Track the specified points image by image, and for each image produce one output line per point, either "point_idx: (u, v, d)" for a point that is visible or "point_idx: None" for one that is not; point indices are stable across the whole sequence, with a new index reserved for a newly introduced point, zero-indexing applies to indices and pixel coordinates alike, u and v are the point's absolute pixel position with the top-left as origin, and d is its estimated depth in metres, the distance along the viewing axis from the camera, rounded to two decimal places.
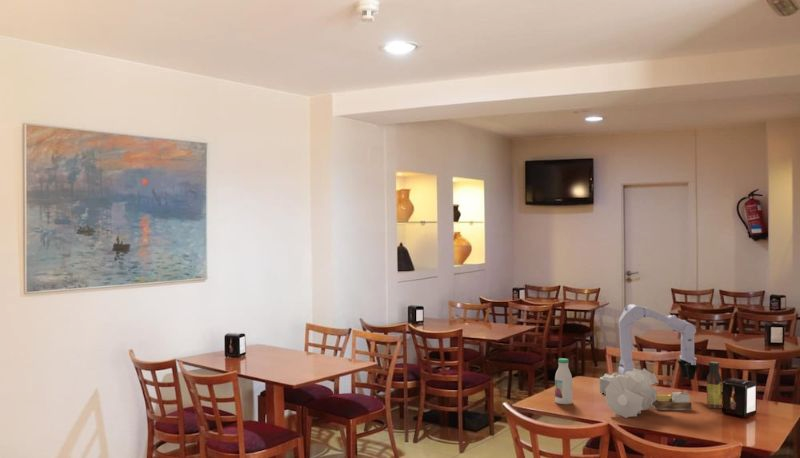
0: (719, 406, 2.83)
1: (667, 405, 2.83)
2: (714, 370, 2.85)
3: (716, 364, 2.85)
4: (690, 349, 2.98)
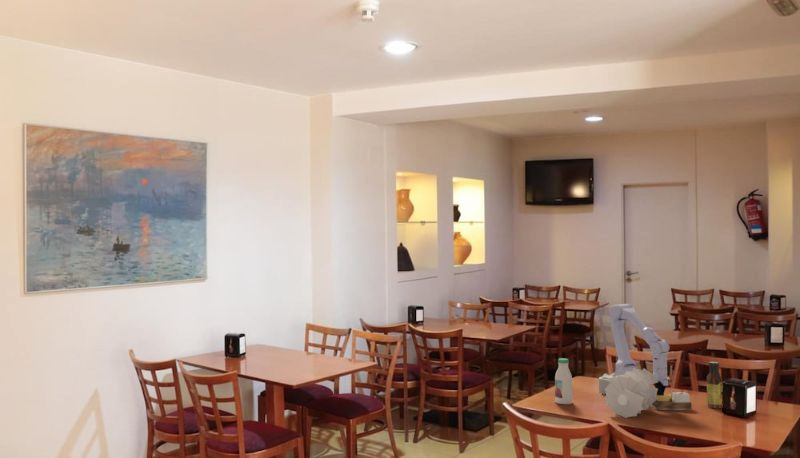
0: (719, 406, 2.83)
1: (667, 405, 2.83)
2: (714, 370, 2.85)
3: (716, 364, 2.85)
4: (662, 369, 2.84)
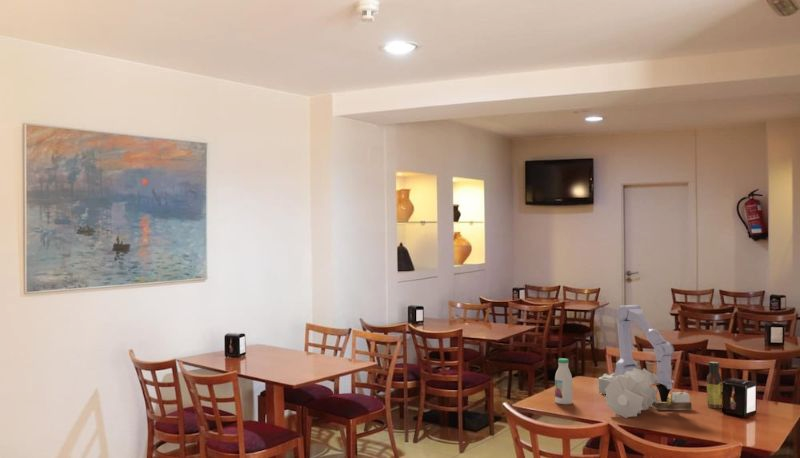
0: (719, 406, 2.83)
1: (667, 405, 2.83)
2: (714, 370, 2.85)
3: (716, 364, 2.85)
4: (666, 372, 2.79)
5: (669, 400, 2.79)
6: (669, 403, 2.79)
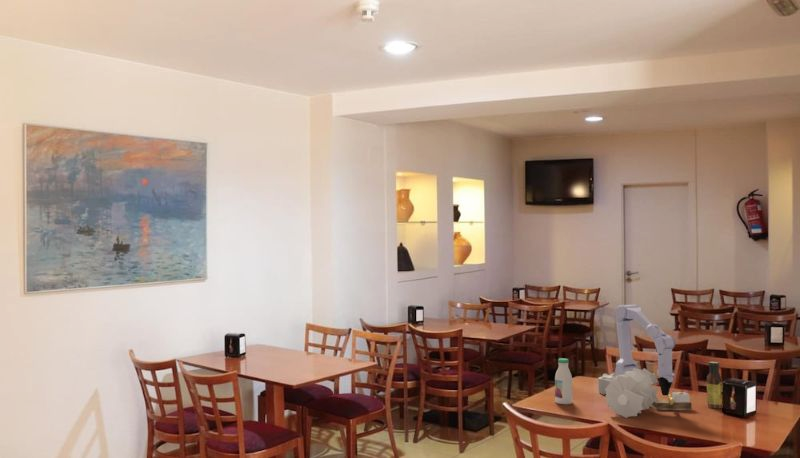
0: (719, 406, 2.83)
1: (667, 405, 2.83)
2: (714, 370, 2.85)
3: (716, 364, 2.85)
4: (667, 365, 2.78)
5: (672, 400, 2.78)
6: (672, 403, 2.78)
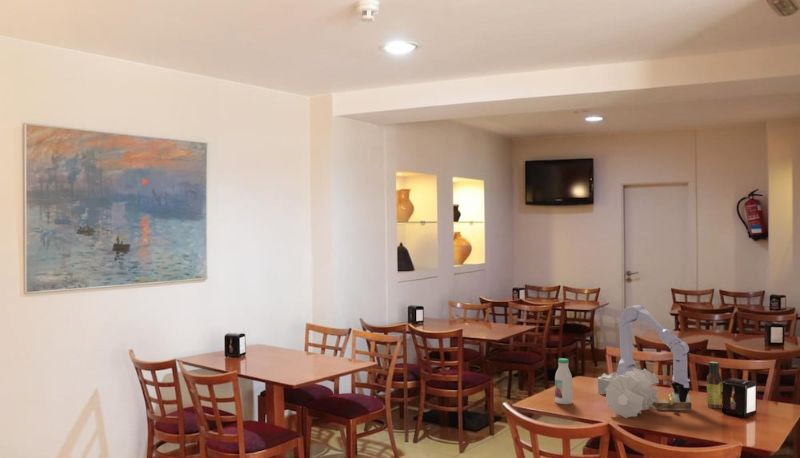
0: (719, 406, 2.83)
1: (667, 405, 2.83)
2: (714, 370, 2.85)
3: (716, 364, 2.85)
4: (683, 371, 2.83)
5: (672, 400, 2.78)
6: (672, 403, 2.78)
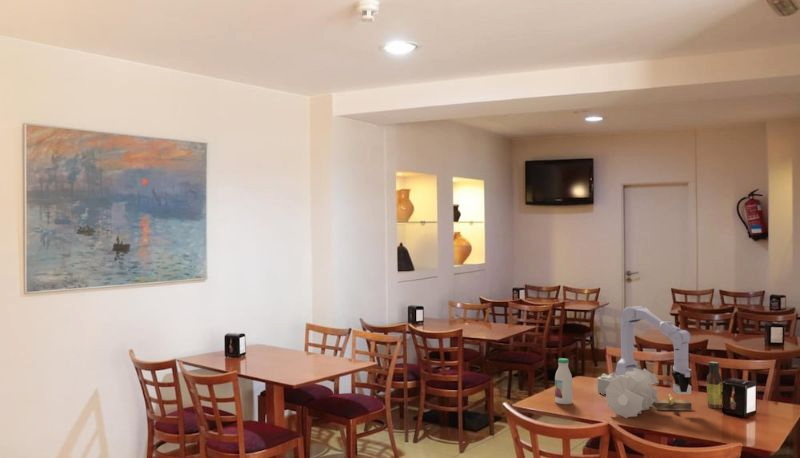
0: (719, 406, 2.83)
1: (667, 405, 2.83)
2: (714, 370, 2.85)
3: (716, 364, 2.85)
4: (684, 360, 2.75)
5: (672, 400, 2.78)
6: (672, 403, 2.78)
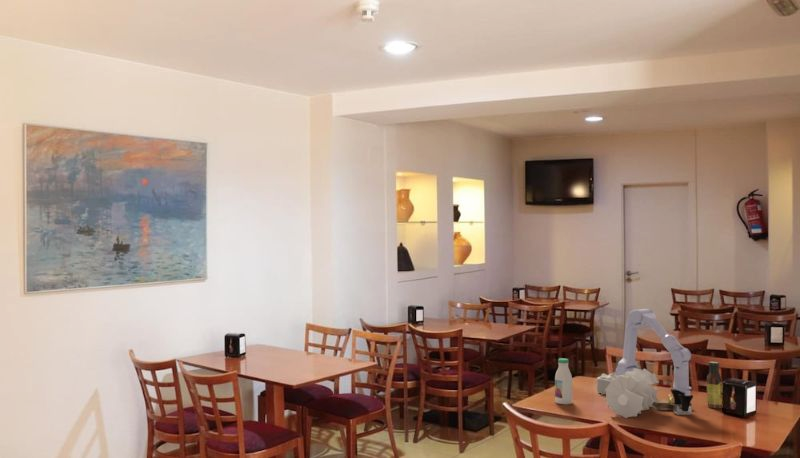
0: (719, 406, 2.83)
1: (667, 405, 2.83)
2: (714, 370, 2.85)
3: (716, 364, 2.85)
4: (684, 378, 2.75)
5: (672, 400, 2.78)
6: (672, 403, 2.78)
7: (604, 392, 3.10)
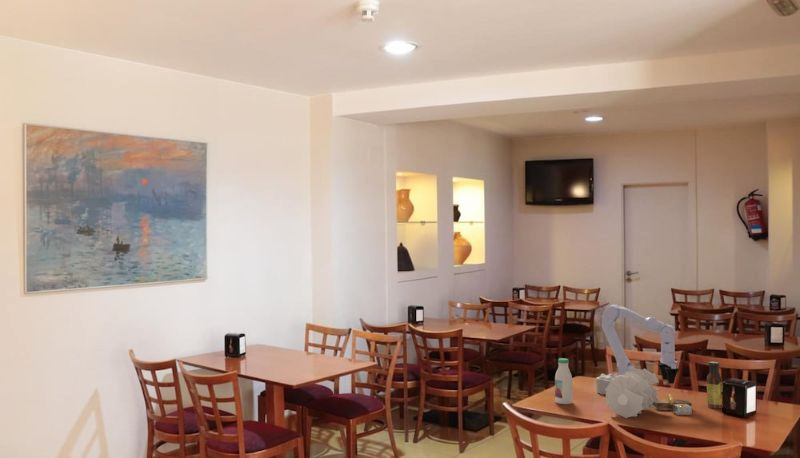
0: (719, 406, 2.83)
1: (667, 405, 2.83)
2: (714, 370, 2.85)
3: (716, 364, 2.85)
4: (670, 352, 2.91)
5: (672, 400, 2.78)
6: (672, 403, 2.78)
7: (603, 392, 3.10)
